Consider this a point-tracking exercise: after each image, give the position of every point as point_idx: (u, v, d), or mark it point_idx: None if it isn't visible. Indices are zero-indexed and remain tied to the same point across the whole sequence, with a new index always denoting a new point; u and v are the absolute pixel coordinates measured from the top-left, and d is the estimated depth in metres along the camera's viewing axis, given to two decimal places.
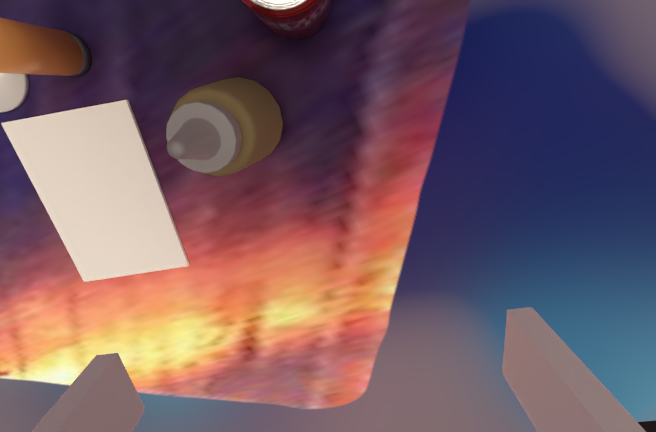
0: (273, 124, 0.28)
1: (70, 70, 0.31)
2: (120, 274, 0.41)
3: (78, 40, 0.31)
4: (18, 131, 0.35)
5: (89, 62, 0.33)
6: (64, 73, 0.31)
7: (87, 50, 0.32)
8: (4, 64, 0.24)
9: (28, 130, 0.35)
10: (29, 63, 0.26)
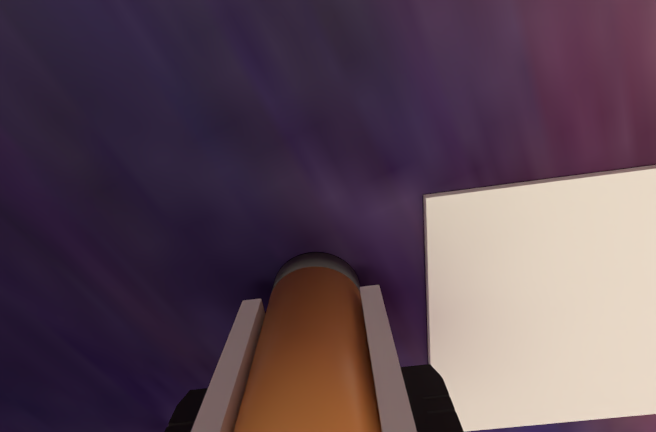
0: None
1: (356, 300, 0.12)
2: None
3: (290, 267, 0.14)
4: None
5: (334, 258, 0.14)
6: None
7: (310, 256, 0.14)
8: None
9: (454, 400, 0.17)
10: (361, 411, 0.08)
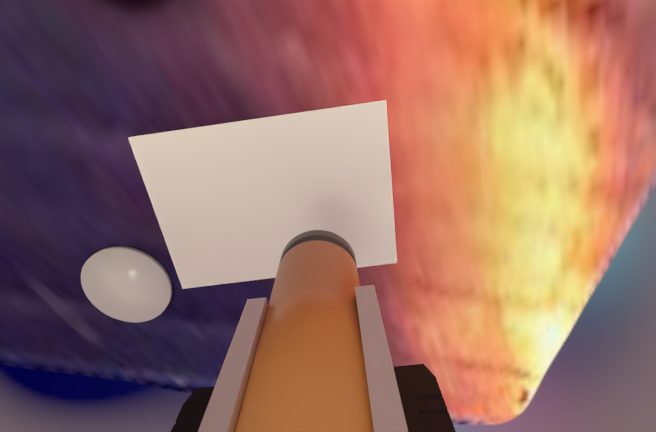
0: None
1: (352, 267, 0.15)
2: (390, 211, 0.28)
3: (295, 242, 0.16)
4: (189, 274, 0.30)
5: (333, 235, 0.16)
6: (357, 279, 0.15)
7: (312, 232, 0.16)
8: (366, 404, 0.08)
9: (186, 264, 0.29)
10: (353, 339, 0.10)
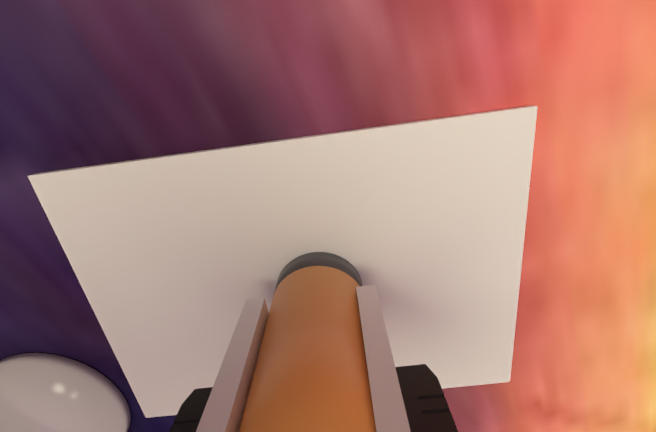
0: None
1: None
2: (512, 304, 0.15)
3: (293, 267, 0.14)
4: (156, 398, 0.18)
5: (337, 258, 0.14)
6: None
7: (313, 255, 0.14)
8: None
9: (151, 383, 0.17)
10: (367, 409, 0.08)
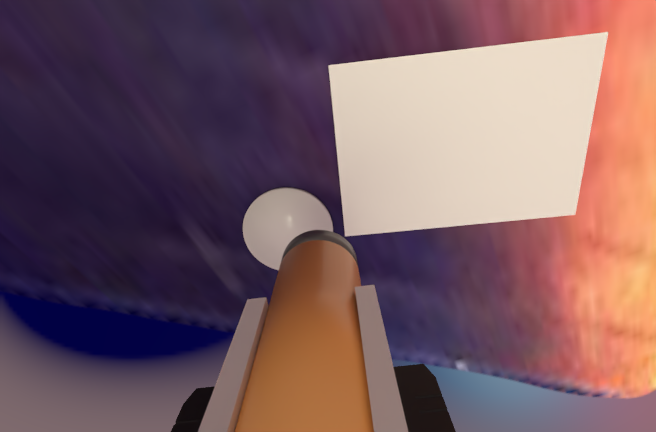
0: None
1: (353, 267, 0.15)
2: (582, 157, 0.26)
3: (297, 242, 0.16)
4: (356, 220, 0.29)
5: (335, 235, 0.16)
6: (359, 279, 0.15)
7: (314, 232, 0.16)
8: (367, 403, 0.08)
9: (356, 209, 0.28)
10: (355, 338, 0.10)
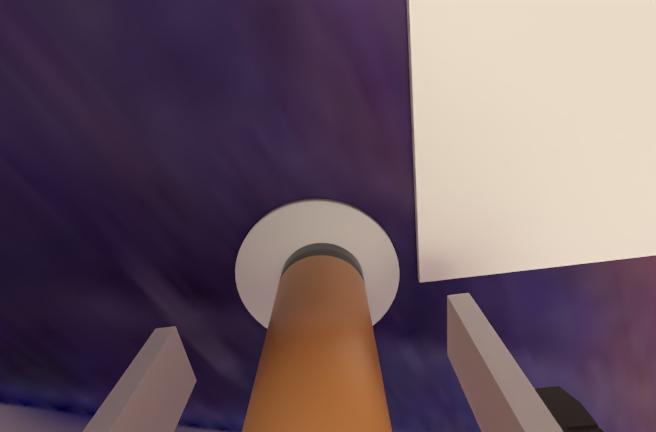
0: None
1: (360, 286, 0.13)
2: None
3: (298, 256, 0.15)
4: (442, 255, 0.16)
5: (340, 249, 0.15)
6: (367, 300, 0.13)
7: (316, 246, 0.15)
8: None
9: (443, 234, 0.15)
10: (367, 379, 0.09)
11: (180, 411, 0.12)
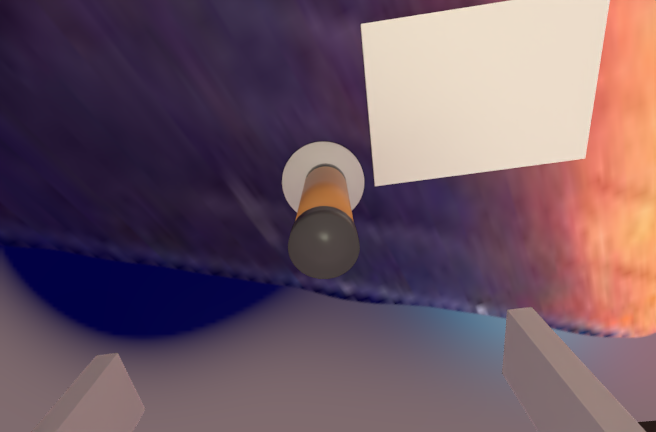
0: None
1: (343, 178, 0.29)
2: (590, 103, 0.29)
3: (314, 168, 0.30)
4: (385, 171, 0.31)
5: (334, 166, 0.31)
6: (346, 184, 0.29)
7: (323, 164, 0.31)
8: (346, 203, 0.23)
9: (385, 159, 0.31)
10: (342, 191, 0.24)
11: None
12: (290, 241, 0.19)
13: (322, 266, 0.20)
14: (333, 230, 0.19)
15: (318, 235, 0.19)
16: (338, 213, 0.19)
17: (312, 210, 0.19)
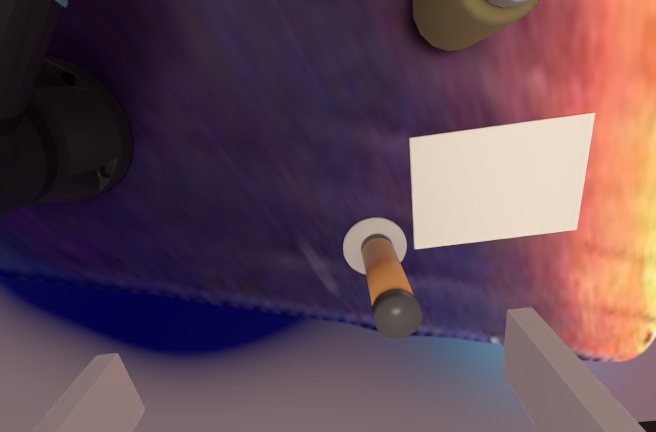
0: None
1: (393, 248, 0.38)
2: (580, 191, 0.39)
3: (369, 238, 0.40)
4: (423, 238, 0.41)
5: (384, 235, 0.40)
6: None
7: (376, 234, 0.40)
8: (406, 279, 0.32)
9: (423, 230, 0.40)
10: (400, 266, 0.34)
11: None
12: (376, 314, 0.28)
13: (396, 330, 0.29)
14: (406, 308, 0.28)
15: (395, 311, 0.28)
16: (408, 295, 0.28)
17: (390, 292, 0.29)
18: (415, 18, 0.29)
